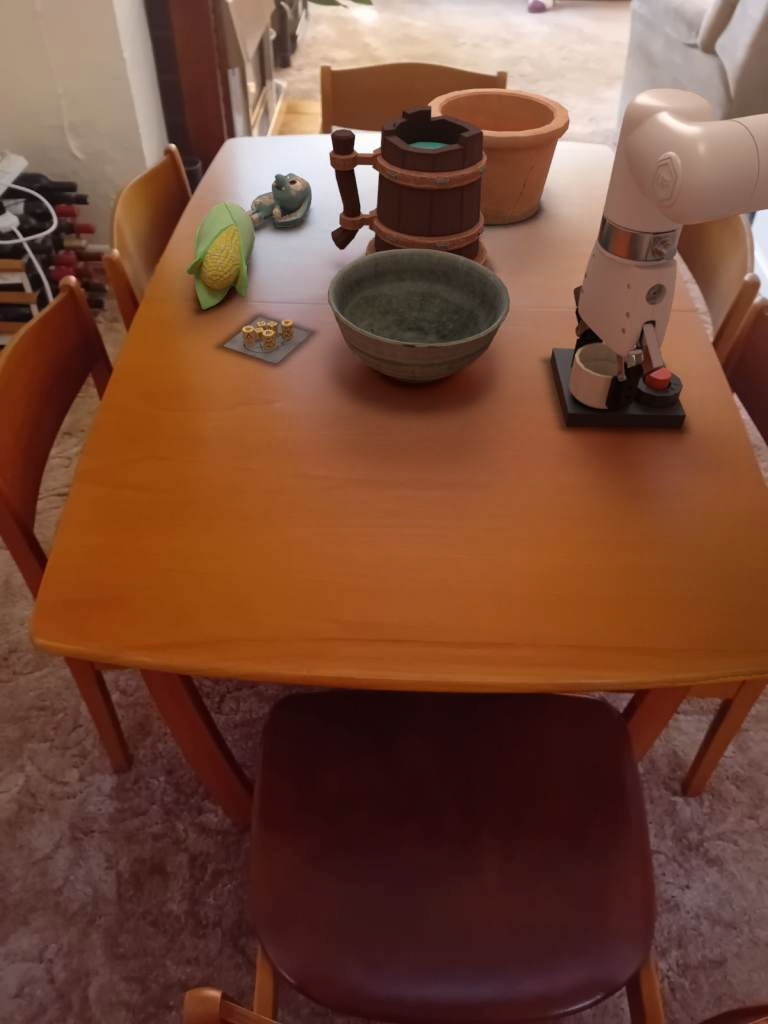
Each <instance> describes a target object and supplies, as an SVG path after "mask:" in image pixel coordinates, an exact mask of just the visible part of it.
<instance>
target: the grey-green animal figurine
mask: <svg viewBox="0 0 768 1024" xmlns="http://www.w3.org/2000/svg"><path fill="white" fill-rule="evenodd" d="M312 199H313V193H312V186H311V184H310V183H309V182H308V181H307V180H306V179H305V178H303V177H301V176H299V175H297V174H295V173H293V172H289V173H287V174H286V175H285V174H284V175H283V174H282V173H276V174H275V175H274V181H273V182H272V184H271V191H270V192H269V191H268V192H264V193H263V194H259V195H258V196H256V197H255V198H254V199H253V200H252V202H251V204H250V209H249V210H247V211H246V212H247V214H248V215H249V216H250V218H251V220H252V223H253V226H257V225H260V224H261V223H262V222H263V221H264V220H269V219H271V218H273V219H274V222H273V224H274V226H275V227H281V228H290V227H294V226H297V225H299V224H300V223H302V221H303V220H304V218H305V216H306V215H307V213H309V210H310V208H311V205H312ZM282 213H284V214H286V215H284V216H283V217H282Z"/></svg>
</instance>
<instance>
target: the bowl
mask: <svg viewBox="0 0 768 1024" xmlns="http://www.w3.org/2000/svg"><path fill="white" fill-rule="evenodd" d="M365 255H366V254H365ZM365 255H363V256H361V257H359V258H356V259H355V260H353V261H350V262H348V263H347V264H346V265H345V266H344V267H342V268H341V269H339V270H338V272H337V273H336V274H335V275H334V277H332V279H331V281H330V283H329V287H328V290H327V300H328V301H327V302H328V304H329V306H330V308H331V311H332V313H333V316H334V318H335V321H336V323H337V326H338V328H339V331H340V333H341V336H342V337H343V339H344V341H345V343H346V345H347V347H348V348H349V350H351V352H352V353H353V354H354V355H355V356H356V357H357V358H358V359H359V360H361V361H362V362H363V363H364V364H366V365H367V366H368V367H370V368H372V369H373V370H375V371H378V372H380V373H382V374H384V375H387V376H388V377H390V378H392V379H394V380H397V381H400V382H405V383H409V384H410V383H411V384H424V383H429V382H434V381H437V380H440V379H443V378H446V377H449V376H453V375H455V374H457V373H459V372H462V371H463V370H465V369H467V368H468V367H470V366H472V365H473V364H474V363H475V362H476V361H477V360H478V359H479V358H480V357H482V355H483V354H484V353H485V352H486V351H487V350H488V349H489V348H490V346H491V344H492V342H493V340H494V338H495V336H496V335H497V333H498V331H499V329H500V327H501V325H502V324H503V323H504V322H505V320H506V318H507V316H508V314H509V312H510V305H511V299H510V293H509V290H508V288H507V286H506V285H505V283H504V281H502V279H501V278H500V277H499V276H498V275H497V274H496V273H495V272H493V271H492V270H491V269H490V268H489V269H488V268H486V267H484V266H483V265H481V264H479V263H477V262H475V261H472V260H470V259H467V258H465V257H462V256H459V255H455V254H451V253H447V252H443V251H436V250H430V249H396V250H388V251H381V252H376V253H373V254H370V255H366V256H365Z"/></svg>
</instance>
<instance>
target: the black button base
mask: <svg viewBox="0 0 768 1024" xmlns="http://www.w3.org/2000/svg"><path fill="white" fill-rule="evenodd" d="M574 350H575V348H567V347H566V348H563V347H562V348H561V347H560V348H559V347H553V348H552V349H551V355H550V359H549V361H550V365H551V370H552V374H553V378H554V382H555V386H556V391H557V395H558V399H559V403H560V407H561V412H562V415H563V420H564V424H565V427H571V428H572V427H573V428H574V427H575V428H579V427H580V428H581V427H582V428H623V429H624V428H626V429H627V428H628V429H629V428H631V429H638V428H639V429H677V430H679V429H682V428H683V425H684V423H685V420H686V418H687V413H686V411H685V409H684V407H683V404H682V401H681V400H680V396H681V393H682V390H683V387H684V385H683V382H682V380H681V378H680V377H679V376H678V375H676V374H675V373H674V372H672V371H670V372H671V379H670V382H669V385H668V387H667V388H666V389H664V390H657V389H653V388H650V387H648V386H647V385H645V378H646V376H645V377H642V378H640V380H639V384H638V387H637V391H636V394H635V398H634V401H633V403H632V404H630V405H627V406H622V407H617V408H613V409H599V408H594V407H590V406H587V405H585V404H583V403H581V402H580V401H579V400H577V399H576V398H575V397H574V395H573V394H572V393H571V392H570V388H569V381H570V377H571V372H572V368H571V364H572V359H573V354H574ZM663 367H664V368H666V369H667V366H666V364H665V361H664V360H663Z"/></svg>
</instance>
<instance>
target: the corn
mask: <svg viewBox="0 0 768 1024" xmlns="http://www.w3.org/2000/svg"><path fill="white" fill-rule="evenodd" d="M254 229H255V228H254V224H253V223H252V220H251V218H250V216H249V215H248V214H247V211H246V210H245V209H244V208H243V207H242V206H241V205H239V204H237V203H233V202H229V201H223V202H220V203H218V204H216V205H214V206H212V208H210V210H209V211H208V212H207V214H206V215H205V216H204V217H203V219H202V221H201V222H200V223H199V225H198V227H197V229H196V232H195V238H194V257H193V258H194V259H193V262H192V263H190V265H189V266H188V268H187V269H186V273H187V274H188V275H193V278H194V279H193V280H194V287H195V291H196V295H197V298H198V301H199V304H200V307H201V310H203V311H204V310H208V309H210V308H213V307H214V306H217V304H219V303H220V302H222V301H223V299H224V298H225V297H226V296H227V293H228V292H229V290H230V289H231V288H233V286H234V289H235V290H236V292H237V293H239V294H240V295H241V296H242V297H244V296H246V293H247V290H248V287H249V286H248V285H249V278H248V267H247V266H248V264H249V262H250V261H251V259H252V255H253V251H254V247H255V242H256V235H255V230H254Z"/></svg>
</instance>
